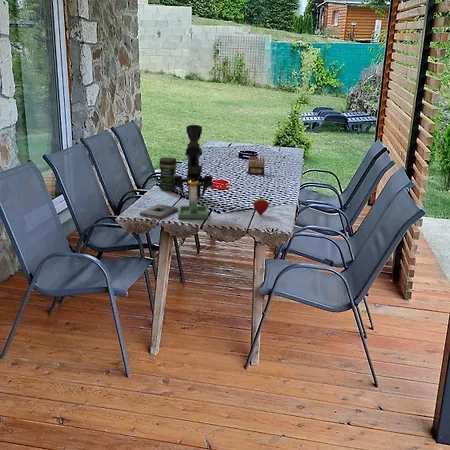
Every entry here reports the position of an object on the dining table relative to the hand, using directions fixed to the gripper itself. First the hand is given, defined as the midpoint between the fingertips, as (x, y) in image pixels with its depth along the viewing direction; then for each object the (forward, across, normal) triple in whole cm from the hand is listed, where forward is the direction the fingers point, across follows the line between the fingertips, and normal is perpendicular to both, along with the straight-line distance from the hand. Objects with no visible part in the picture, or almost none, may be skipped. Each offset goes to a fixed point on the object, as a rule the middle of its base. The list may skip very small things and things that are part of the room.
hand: (193, 195), depth 255 cm
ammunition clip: (-54, +39, +69) cm, 96 cm away
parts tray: (+6, 0, +8) cm, 10 cm away
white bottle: (+6, 0, +8) cm, 9 cm away
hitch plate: (+4, -17, +10) cm, 20 cm away
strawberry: (+7, +33, +8) cm, 35 cm away
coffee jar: (-28, -15, +42) cm, 53 cm away
